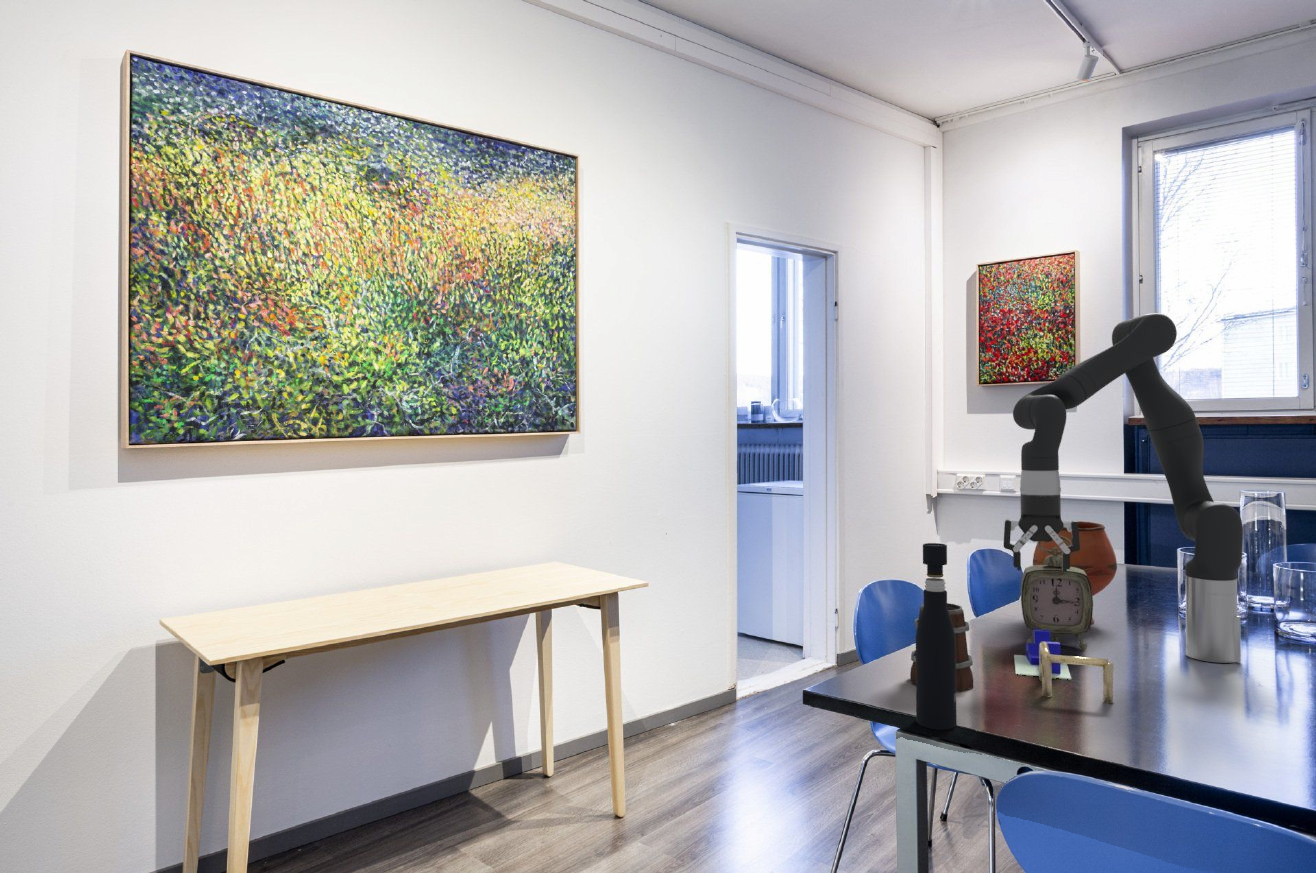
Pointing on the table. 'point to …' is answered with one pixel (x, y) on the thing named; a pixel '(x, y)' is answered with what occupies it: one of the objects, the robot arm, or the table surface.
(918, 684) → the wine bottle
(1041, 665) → the wire track
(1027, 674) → the pad
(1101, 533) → the terracotta pot
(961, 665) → the mug
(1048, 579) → the tabletop clock
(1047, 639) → the cable clip
